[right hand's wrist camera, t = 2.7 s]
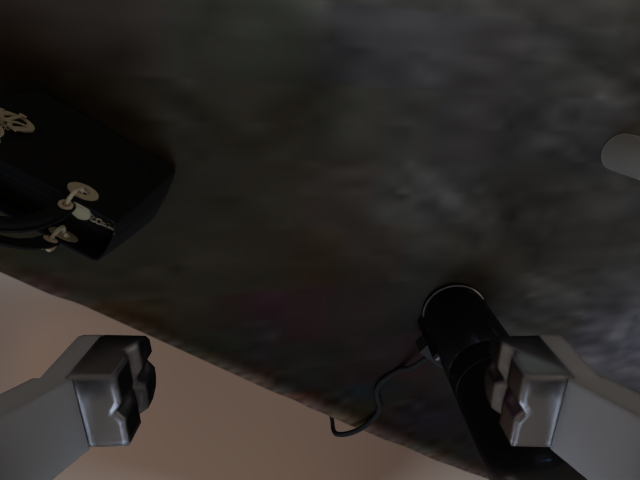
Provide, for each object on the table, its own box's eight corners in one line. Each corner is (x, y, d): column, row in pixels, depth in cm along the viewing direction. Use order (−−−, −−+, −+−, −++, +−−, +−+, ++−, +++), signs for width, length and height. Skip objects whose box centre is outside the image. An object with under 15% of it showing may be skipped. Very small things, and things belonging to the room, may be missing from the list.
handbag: (184, 172, 57) (91, 242, 34) (155, 226, 60) (50, 325, 37) (33, 82, 53) (-192, 92, 30) (9, 145, 56) (-213, 198, 33)
